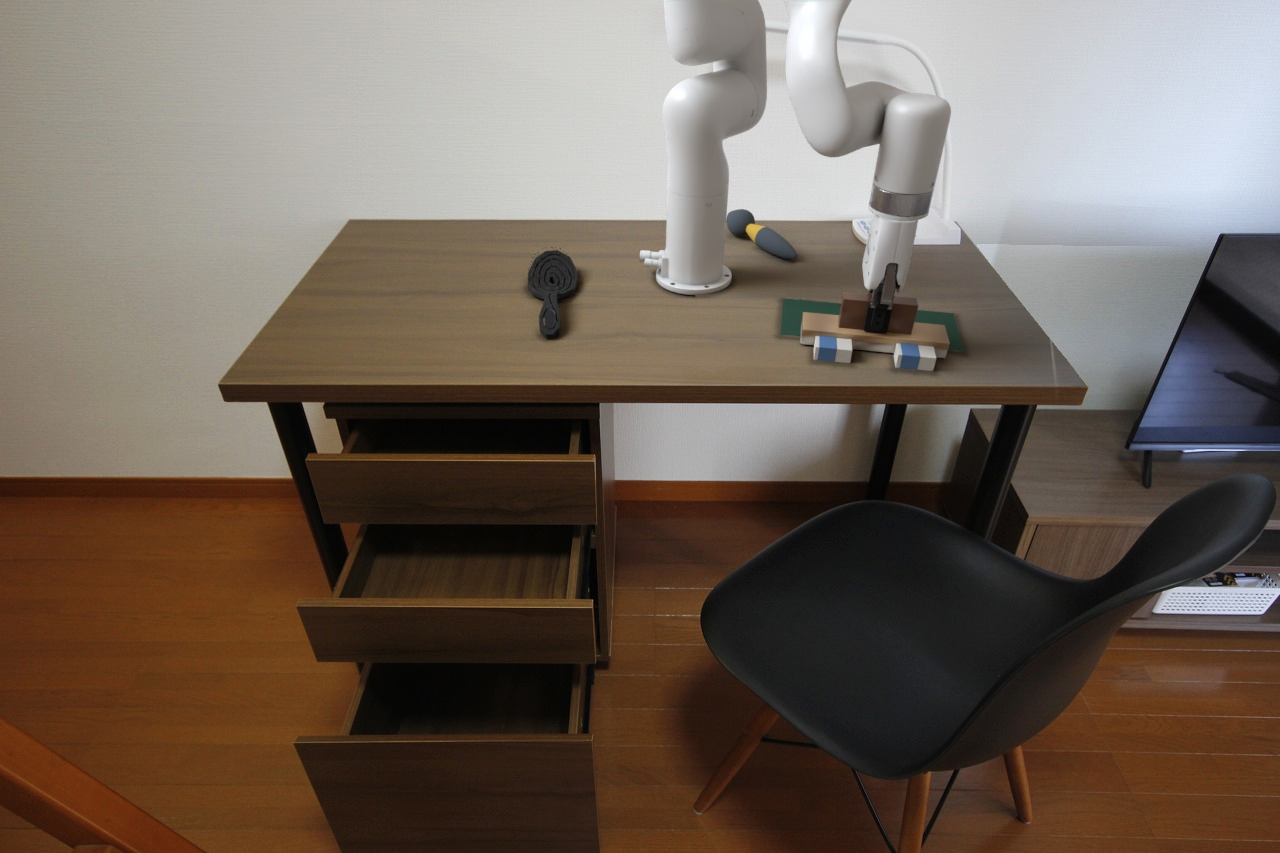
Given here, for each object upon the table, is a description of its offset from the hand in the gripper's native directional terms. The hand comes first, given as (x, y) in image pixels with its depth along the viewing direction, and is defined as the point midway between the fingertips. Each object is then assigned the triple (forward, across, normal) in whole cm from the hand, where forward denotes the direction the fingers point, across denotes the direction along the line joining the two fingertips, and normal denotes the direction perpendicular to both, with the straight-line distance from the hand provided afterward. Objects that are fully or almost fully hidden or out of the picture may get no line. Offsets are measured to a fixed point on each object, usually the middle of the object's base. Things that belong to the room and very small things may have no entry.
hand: (874, 325), depth 110 cm
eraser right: (+3, +4, +6) cm, 8 cm away
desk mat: (+3, -6, 0) cm, 7 cm away
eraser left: (+3, +4, -6) cm, 8 cm away
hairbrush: (+4, -6, -49) cm, 49 cm away
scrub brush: (+3, 0, 0) cm, 3 cm away
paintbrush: (+4, -34, -18) cm, 39 cm away
